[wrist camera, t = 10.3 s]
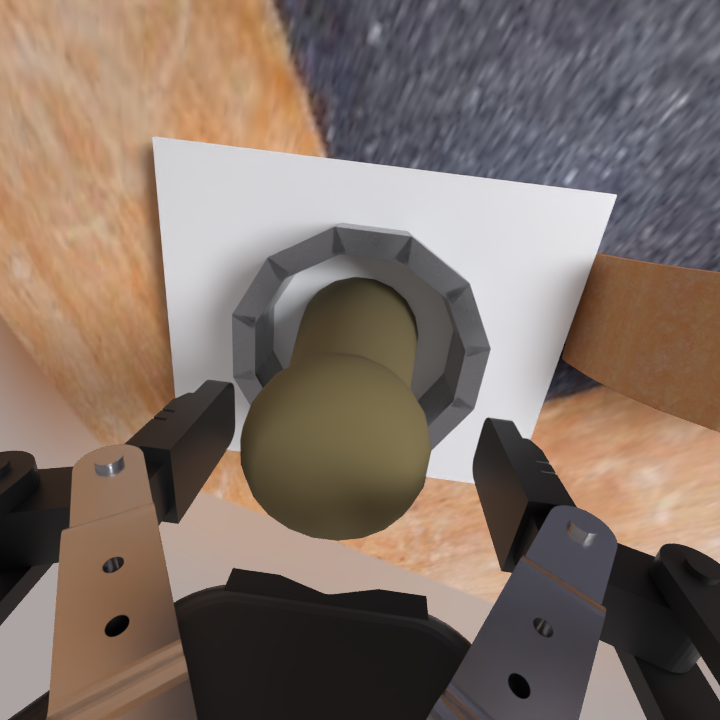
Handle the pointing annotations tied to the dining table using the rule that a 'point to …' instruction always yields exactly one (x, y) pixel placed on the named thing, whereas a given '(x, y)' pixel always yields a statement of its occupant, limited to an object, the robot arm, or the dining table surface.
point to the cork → (341, 418)
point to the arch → (651, 335)
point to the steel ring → (469, 339)
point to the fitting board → (376, 266)
